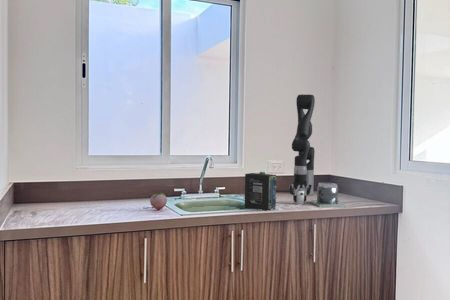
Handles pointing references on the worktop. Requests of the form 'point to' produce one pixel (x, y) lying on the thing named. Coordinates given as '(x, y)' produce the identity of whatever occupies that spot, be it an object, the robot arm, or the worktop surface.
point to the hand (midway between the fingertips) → (299, 201)
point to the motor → (327, 196)
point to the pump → (300, 196)
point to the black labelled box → (260, 191)
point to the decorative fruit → (158, 201)
